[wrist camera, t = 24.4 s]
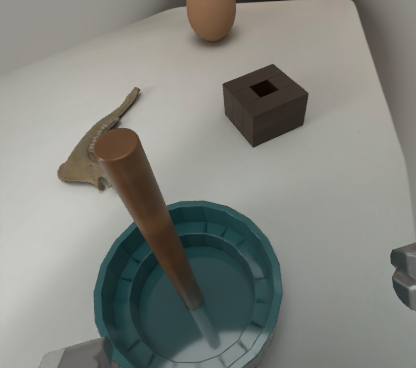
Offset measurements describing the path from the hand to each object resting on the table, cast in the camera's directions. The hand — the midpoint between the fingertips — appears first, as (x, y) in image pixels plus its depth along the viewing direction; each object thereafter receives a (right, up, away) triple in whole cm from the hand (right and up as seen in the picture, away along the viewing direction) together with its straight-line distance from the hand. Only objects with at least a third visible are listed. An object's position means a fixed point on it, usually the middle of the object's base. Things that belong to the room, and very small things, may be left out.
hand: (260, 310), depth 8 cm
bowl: (-2, -7, +20) cm, 21 cm away
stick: (-3, -7, +19) cm, 21 cm away
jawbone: (-13, +10, +34) cm, 38 cm away
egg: (0, +30, +48) cm, 56 cm away
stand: (+6, +12, +33) cm, 36 cm away
